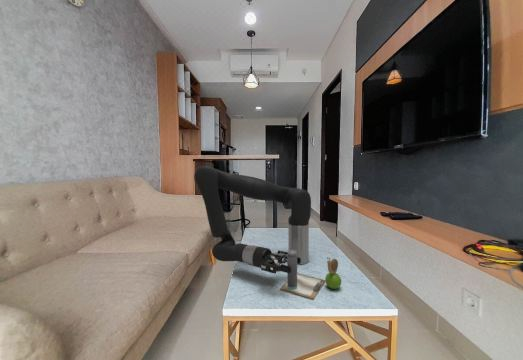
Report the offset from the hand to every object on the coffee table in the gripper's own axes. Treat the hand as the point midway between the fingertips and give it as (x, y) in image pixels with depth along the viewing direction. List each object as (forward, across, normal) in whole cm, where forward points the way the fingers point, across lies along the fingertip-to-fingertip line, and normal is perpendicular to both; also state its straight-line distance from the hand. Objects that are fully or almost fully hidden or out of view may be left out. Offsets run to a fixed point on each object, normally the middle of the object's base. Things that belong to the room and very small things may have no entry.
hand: (296, 265), depth 79 cm
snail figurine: (+11, +7, +9) cm, 16 cm away
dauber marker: (-1, 0, +8) cm, 8 cm away
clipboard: (+1, +4, +9) cm, 10 cm away
